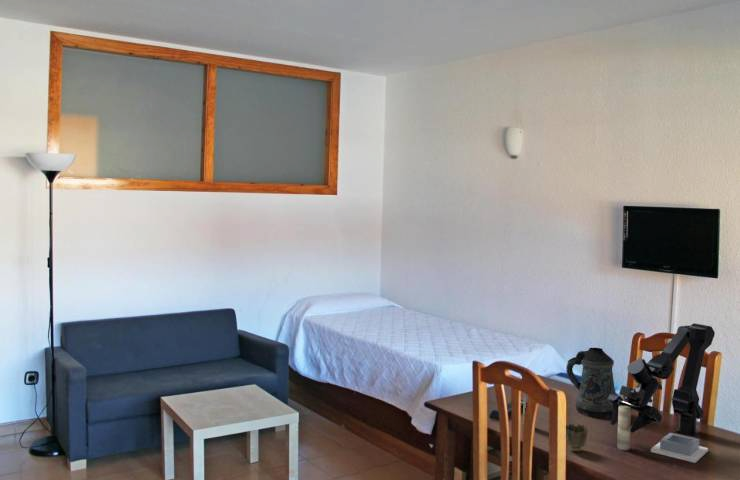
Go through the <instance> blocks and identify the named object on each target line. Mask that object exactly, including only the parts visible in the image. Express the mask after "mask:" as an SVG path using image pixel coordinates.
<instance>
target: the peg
mask: <svg viewBox="0 0 740 480" xmlns="http://www.w3.org/2000/svg"><path fill="white" fill-rule="evenodd" d="M631 420H632V410H631V407H628V406H619V408H618V421H617V437H616V438H617V441H616V442H617V443H616V444H617V445H616V448H617V449H618V450H621V451H630V449H631V432H630V430H631V427H632V426H631V425H632V423H631Z"/></svg>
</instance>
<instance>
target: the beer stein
mask: <svg viewBox="0 0 740 480" xmlns="http://www.w3.org/2000/svg"><path fill="white" fill-rule="evenodd" d="M614 361H615V360H614V359H613V358H612V357H611V356H610V355H608V354H607V353H606V352H605V351H604V350H603V348H601V347H589V348H588V349H587V350H580V351H578V352H577V354H576V355H575V357H572V358H570V359H569V360H568V361H567V364H566V369H565V370H566V375H567V377H568V379H569V380H570V383H572V384H573V386H574V387H575V388H576V389H577V390H578V394H577V397H576V399H575V402H574V403H575V409H576V411H578V412H577V413H578V414H580V415H582V416H587V417H589V418H597V419H612V415H613V406H612V405H611V404H610V402H609V401H608V400H607V398H608V397H609V395H610V394H614V395H617V393H616V389H615V388H616V387H615V381H614V380H615V379H614V372H613V367H614V363H615V362H614ZM575 365H577V366H580V365H582V372H581V377H580V378H581V380H580V381H579V379H577V377H576V375H575V373H574V372H573V369H574V366H575Z"/></svg>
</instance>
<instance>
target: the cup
mask: <svg viewBox="0 0 740 480" xmlns="http://www.w3.org/2000/svg"><path fill="white" fill-rule="evenodd" d="M565 426H566V435H565V441H566V443H567V444H568V445H569V448H570V450H571V451H572V452H575V453H579V452H581V451H582V450H583V449H582V447H584V446H585V445H586V442H587V440H588V433H589V429H588V428H587V426H586V427H585V425H584V424H581V425H580V424H578V425H577V426H576V425H575V424H574V423H573V424H571V423H569V424H566V425H565Z"/></svg>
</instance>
